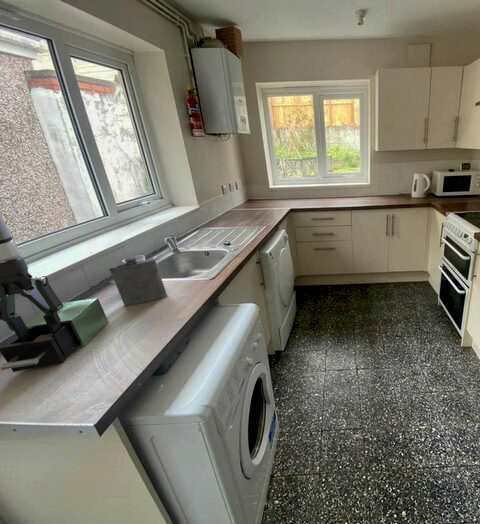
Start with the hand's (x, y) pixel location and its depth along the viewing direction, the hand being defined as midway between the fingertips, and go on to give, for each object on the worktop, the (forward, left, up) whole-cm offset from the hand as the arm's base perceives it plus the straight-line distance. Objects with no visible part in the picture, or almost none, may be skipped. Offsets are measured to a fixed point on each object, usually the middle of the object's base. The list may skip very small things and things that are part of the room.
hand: (42, 335), depth 80 cm
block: (0, 0, -5) cm, 5 cm away
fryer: (0, +9, -7) cm, 12 cm away
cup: (+5, +47, -8) cm, 48 cm away
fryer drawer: (0, -1, -6) cm, 7 cm away
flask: (+13, +29, -8) cm, 33 cm away
